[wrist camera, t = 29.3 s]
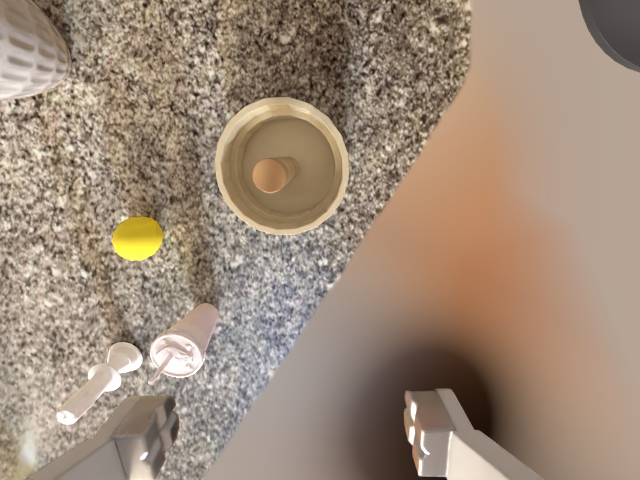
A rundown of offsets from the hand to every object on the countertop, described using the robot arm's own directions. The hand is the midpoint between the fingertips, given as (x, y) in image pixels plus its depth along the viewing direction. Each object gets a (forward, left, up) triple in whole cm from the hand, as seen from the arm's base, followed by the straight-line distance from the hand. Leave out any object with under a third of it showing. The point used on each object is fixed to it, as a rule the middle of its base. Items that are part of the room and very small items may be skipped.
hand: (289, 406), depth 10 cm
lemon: (+23, +1, -31) cm, 39 cm away
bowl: (+3, -7, -31) cm, 32 cm away
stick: (+3, -7, -30) cm, 31 cm away
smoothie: (+17, +14, -31) cm, 38 cm away
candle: (+31, +21, -31) cm, 49 cm away
